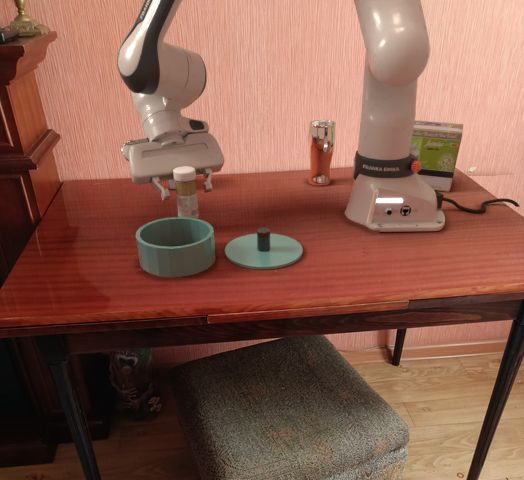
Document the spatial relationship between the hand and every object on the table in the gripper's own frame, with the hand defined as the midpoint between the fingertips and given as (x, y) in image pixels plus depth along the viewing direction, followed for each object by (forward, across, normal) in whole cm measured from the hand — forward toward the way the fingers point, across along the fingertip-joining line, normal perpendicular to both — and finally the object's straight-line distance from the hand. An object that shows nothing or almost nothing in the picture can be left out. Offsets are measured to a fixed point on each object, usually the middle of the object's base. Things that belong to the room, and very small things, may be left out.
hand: (188, 194), depth 110 cm
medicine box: (-16, +9, +27) cm, 33 cm away
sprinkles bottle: (+5, 0, +6) cm, 8 cm away
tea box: (+6, +66, +6) cm, 66 cm away
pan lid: (+18, +9, -7) cm, 21 cm away
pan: (+15, -8, -3) cm, 17 cm away
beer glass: (-4, +42, +16) cm, 46 cm away
